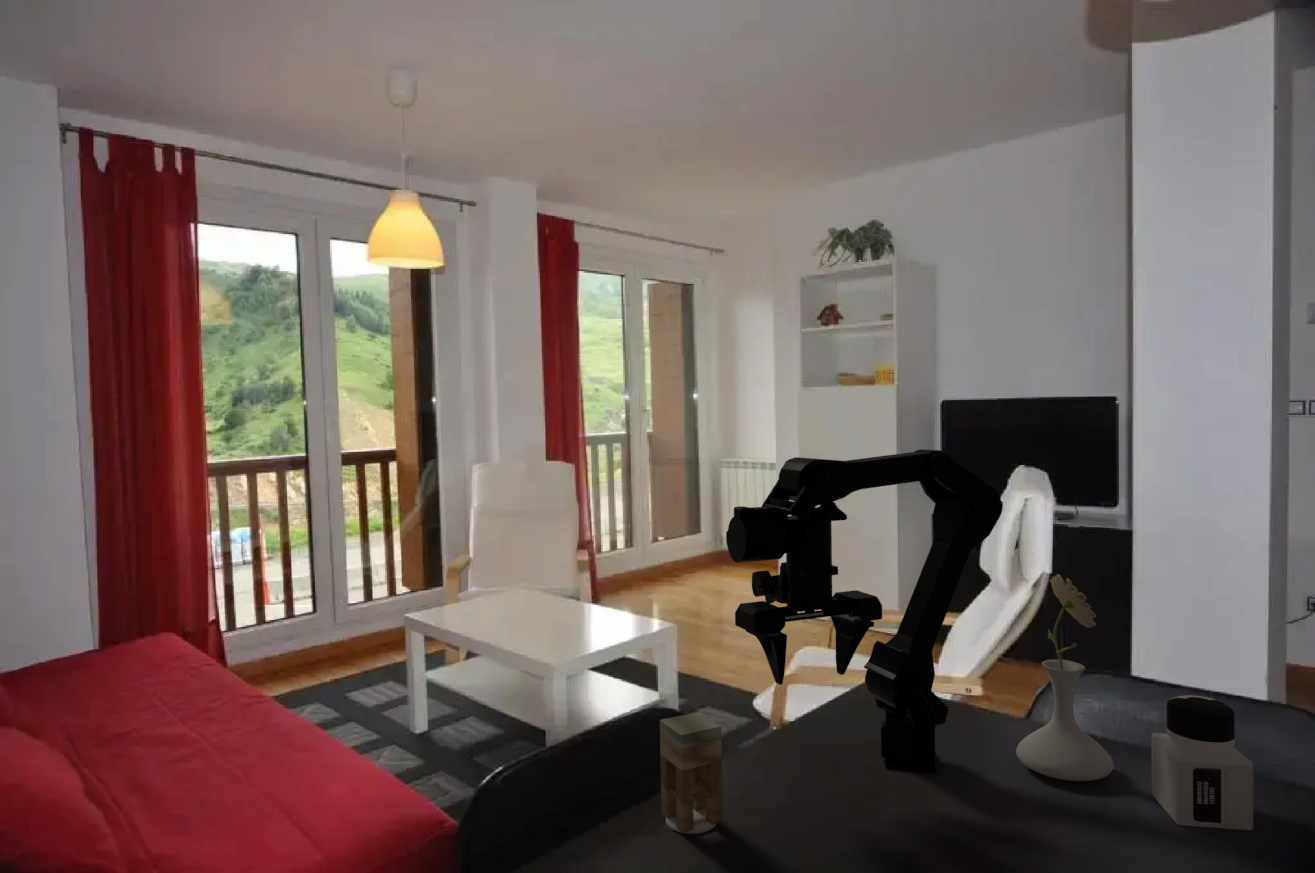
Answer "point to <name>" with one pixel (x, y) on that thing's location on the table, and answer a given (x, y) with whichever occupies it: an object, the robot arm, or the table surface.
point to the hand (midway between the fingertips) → (810, 678)
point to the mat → (699, 823)
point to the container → (1202, 766)
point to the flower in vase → (1065, 710)
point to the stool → (691, 769)
